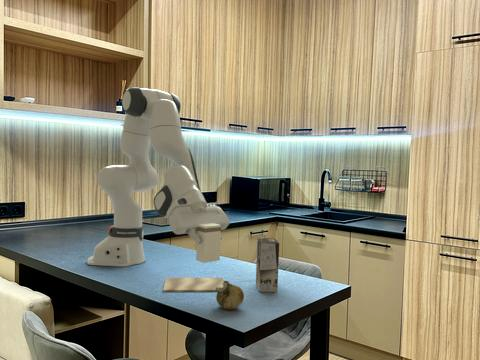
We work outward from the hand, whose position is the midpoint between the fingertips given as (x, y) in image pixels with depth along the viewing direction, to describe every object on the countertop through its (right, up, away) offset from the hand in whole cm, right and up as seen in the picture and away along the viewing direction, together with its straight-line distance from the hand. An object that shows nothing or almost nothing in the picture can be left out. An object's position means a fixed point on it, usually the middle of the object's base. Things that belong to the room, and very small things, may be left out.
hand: (209, 241), depth 131 cm
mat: (-6, -17, +13) cm, 22 cm away
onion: (+6, -18, -8) cm, 21 cm away
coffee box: (+18, -18, +13) cm, 28 cm away
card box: (-1, -6, +1) cm, 6 cm away
